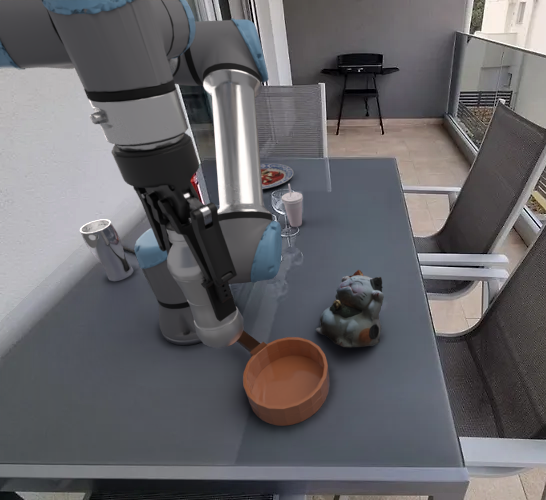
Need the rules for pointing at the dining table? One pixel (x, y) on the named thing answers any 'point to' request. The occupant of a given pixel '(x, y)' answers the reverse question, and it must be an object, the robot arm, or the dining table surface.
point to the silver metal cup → (107, 248)
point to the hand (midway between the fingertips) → (211, 303)
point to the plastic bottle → (200, 296)
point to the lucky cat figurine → (354, 312)
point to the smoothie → (293, 207)
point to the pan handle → (250, 343)
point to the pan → (287, 381)
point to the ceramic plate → (274, 174)
